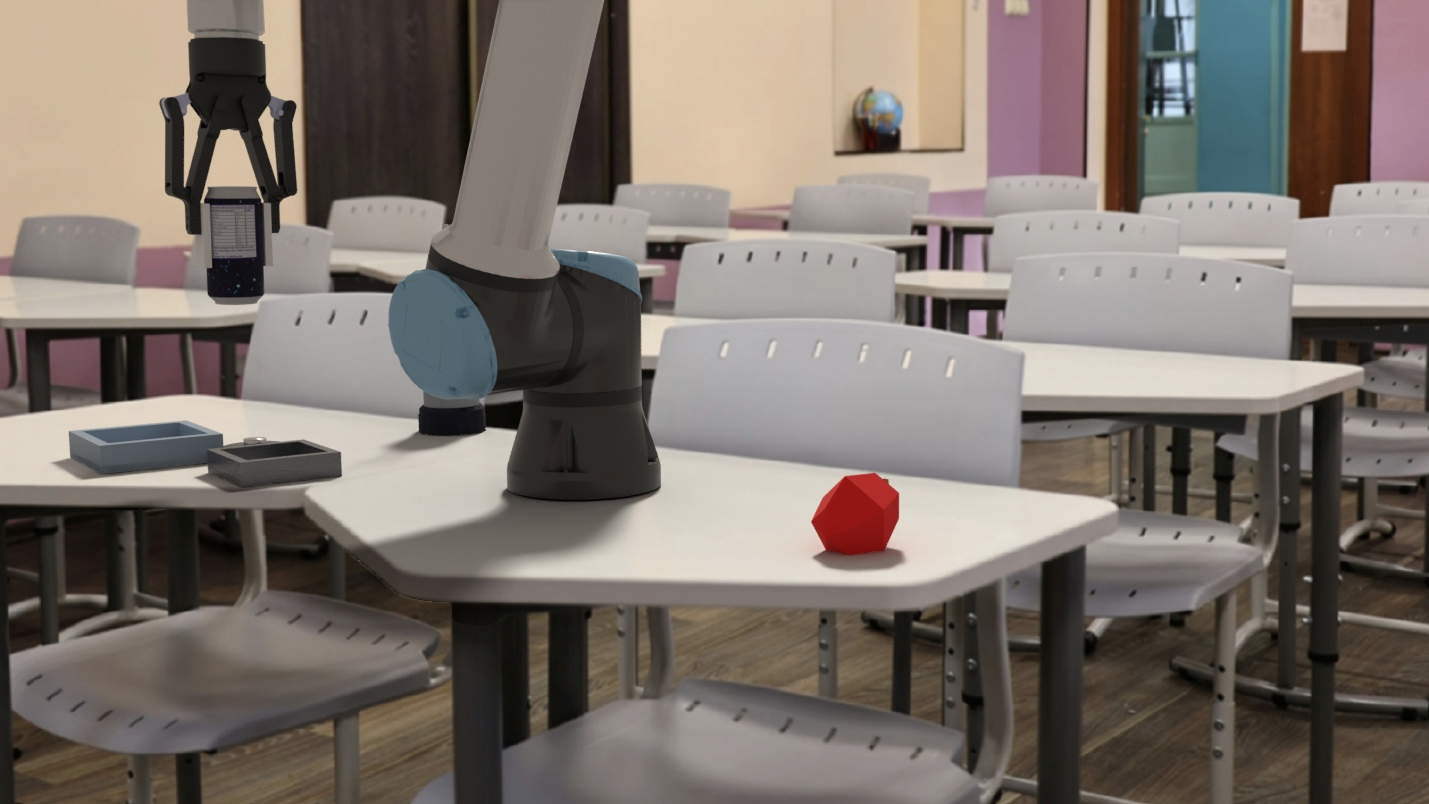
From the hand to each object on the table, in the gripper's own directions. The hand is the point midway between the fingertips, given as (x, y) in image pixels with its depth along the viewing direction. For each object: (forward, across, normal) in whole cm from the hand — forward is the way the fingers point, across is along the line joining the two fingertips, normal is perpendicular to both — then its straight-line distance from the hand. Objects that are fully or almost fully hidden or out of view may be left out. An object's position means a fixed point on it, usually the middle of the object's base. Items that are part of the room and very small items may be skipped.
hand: (234, 265), depth 168 cm
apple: (+20, -28, +67) cm, 76 cm away
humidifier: (+22, -30, -12) cm, 39 cm away
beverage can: (+4, 0, 0) cm, 4 cm away
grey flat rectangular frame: (+22, -2, +1) cm, 22 cm away
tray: (+22, +6, -13) cm, 26 cm away
